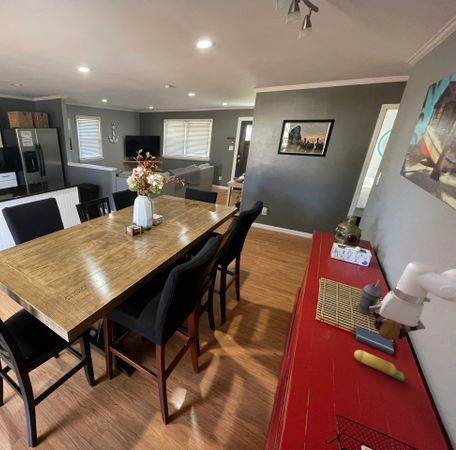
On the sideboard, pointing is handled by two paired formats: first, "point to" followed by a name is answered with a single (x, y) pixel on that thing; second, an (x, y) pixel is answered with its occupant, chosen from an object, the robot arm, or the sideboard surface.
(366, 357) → the corn cob
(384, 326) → the fruit
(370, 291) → the beverage cup
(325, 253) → the sideboard surface
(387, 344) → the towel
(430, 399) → the sideboard surface
